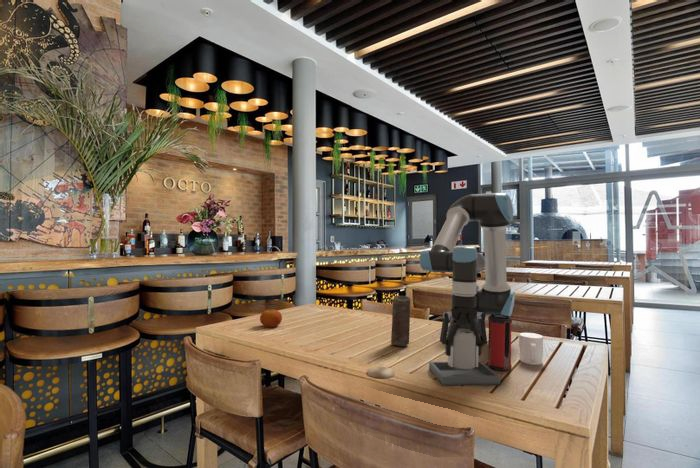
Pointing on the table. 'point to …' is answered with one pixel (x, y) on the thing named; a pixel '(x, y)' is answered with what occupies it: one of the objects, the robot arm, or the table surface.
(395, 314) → the dark brown bottle
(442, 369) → the tray
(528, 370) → the table surface
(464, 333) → the can
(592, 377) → the table surface
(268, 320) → the fruit
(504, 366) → the speaker
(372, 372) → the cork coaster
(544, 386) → the table surface
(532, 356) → the mug
